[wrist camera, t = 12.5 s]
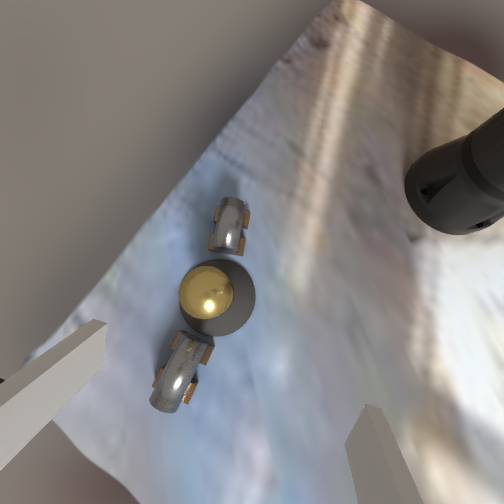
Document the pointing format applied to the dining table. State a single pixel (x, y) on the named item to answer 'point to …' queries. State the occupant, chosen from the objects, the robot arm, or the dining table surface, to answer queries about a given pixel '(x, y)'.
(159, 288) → the dining table surface
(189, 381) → the shaft
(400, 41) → the dining table surface
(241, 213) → the shaft
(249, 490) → the dining table surface
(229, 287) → the gold cylinder with ring
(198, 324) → the socket pad
